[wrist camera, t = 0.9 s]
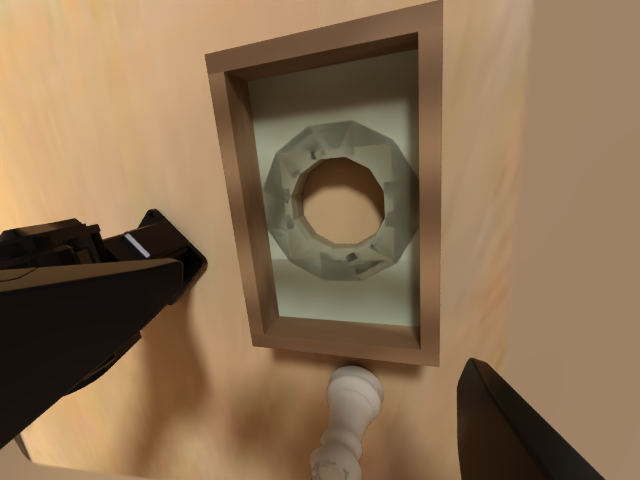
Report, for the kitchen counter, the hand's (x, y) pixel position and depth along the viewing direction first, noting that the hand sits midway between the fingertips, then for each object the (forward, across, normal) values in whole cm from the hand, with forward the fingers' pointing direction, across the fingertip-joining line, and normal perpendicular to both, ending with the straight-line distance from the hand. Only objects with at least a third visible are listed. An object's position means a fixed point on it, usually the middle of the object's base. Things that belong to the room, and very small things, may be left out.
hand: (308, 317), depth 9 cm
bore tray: (+13, +2, -1) cm, 13 cm away
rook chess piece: (+13, -2, +13) cm, 19 cm away
